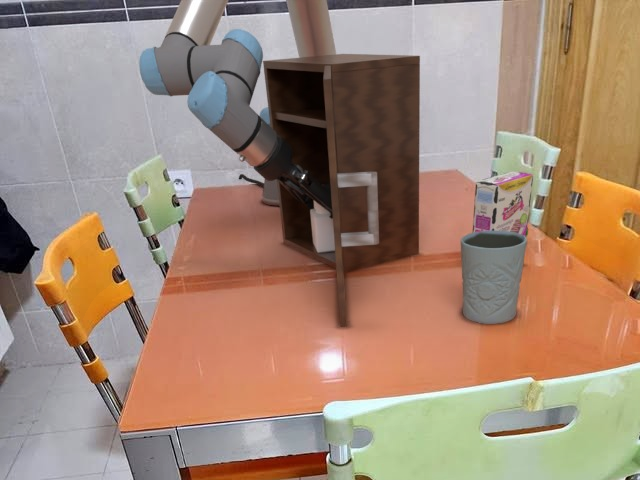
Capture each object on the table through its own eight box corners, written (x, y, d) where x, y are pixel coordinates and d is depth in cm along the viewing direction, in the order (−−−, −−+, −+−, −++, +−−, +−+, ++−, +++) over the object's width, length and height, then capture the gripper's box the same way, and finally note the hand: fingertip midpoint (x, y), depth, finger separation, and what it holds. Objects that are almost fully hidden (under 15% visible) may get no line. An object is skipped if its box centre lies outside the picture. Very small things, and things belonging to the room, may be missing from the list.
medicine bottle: (345, 240, 140) (341, 180, 133) (351, 249, 134) (348, 187, 127) (312, 243, 139) (307, 183, 132) (317, 253, 133) (312, 191, 126)
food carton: (490, 280, 119) (497, 184, 109) (468, 275, 122) (473, 181, 112) (525, 265, 125) (534, 172, 115) (503, 260, 128) (511, 169, 118)
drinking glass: (481, 330, 101) (486, 252, 94) (445, 310, 108) (447, 236, 101) (532, 316, 104) (541, 240, 97) (494, 298, 112) (500, 225, 105)
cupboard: (344, 273, 126) (331, 64, 106) (283, 243, 145) (262, 60, 124) (418, 254, 133) (420, 55, 113) (352, 228, 152) (342, 53, 132)
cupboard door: (373, 271, 126) (365, 63, 106) (382, 323, 104) (375, 75, 84) (338, 273, 126) (324, 65, 106) (340, 326, 104) (323, 78, 84)
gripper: (231, 161, 128) (309, 229, 144) (279, 177, 113) (361, 251, 129) (251, 127, 127) (328, 200, 143) (303, 139, 112) (382, 219, 128)
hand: (343, 224), depth 136 cm, fingers closed on medicine bottle, 9 cm apart
